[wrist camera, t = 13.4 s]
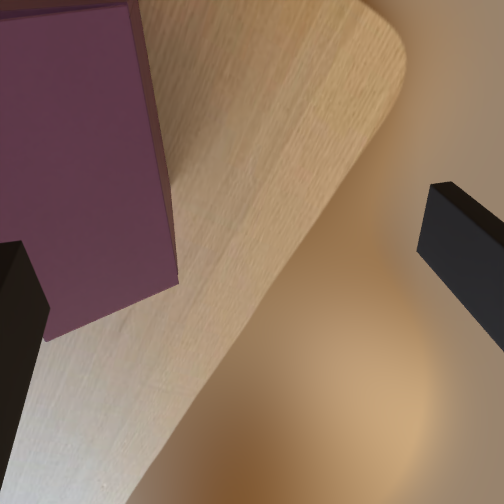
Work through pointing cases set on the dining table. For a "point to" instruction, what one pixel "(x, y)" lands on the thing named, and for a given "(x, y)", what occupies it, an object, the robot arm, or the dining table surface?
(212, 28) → the dining table surface
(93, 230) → the flap
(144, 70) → the cardboard box
